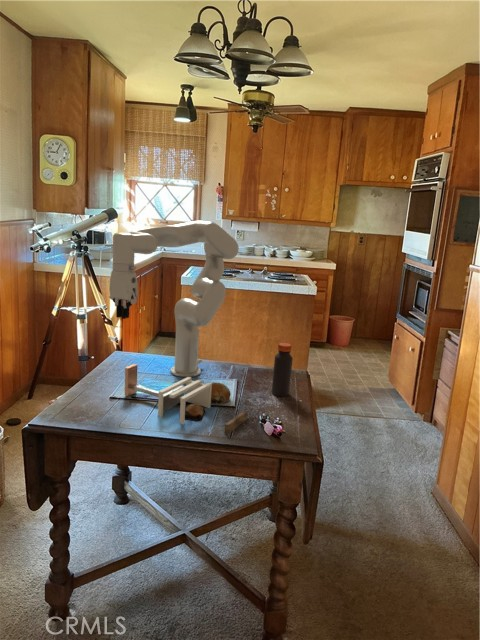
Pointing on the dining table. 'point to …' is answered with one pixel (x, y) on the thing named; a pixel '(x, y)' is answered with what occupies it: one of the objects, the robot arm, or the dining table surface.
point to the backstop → (235, 422)
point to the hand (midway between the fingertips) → (122, 317)
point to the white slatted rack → (187, 395)
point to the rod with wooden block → (132, 388)
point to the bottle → (282, 370)
